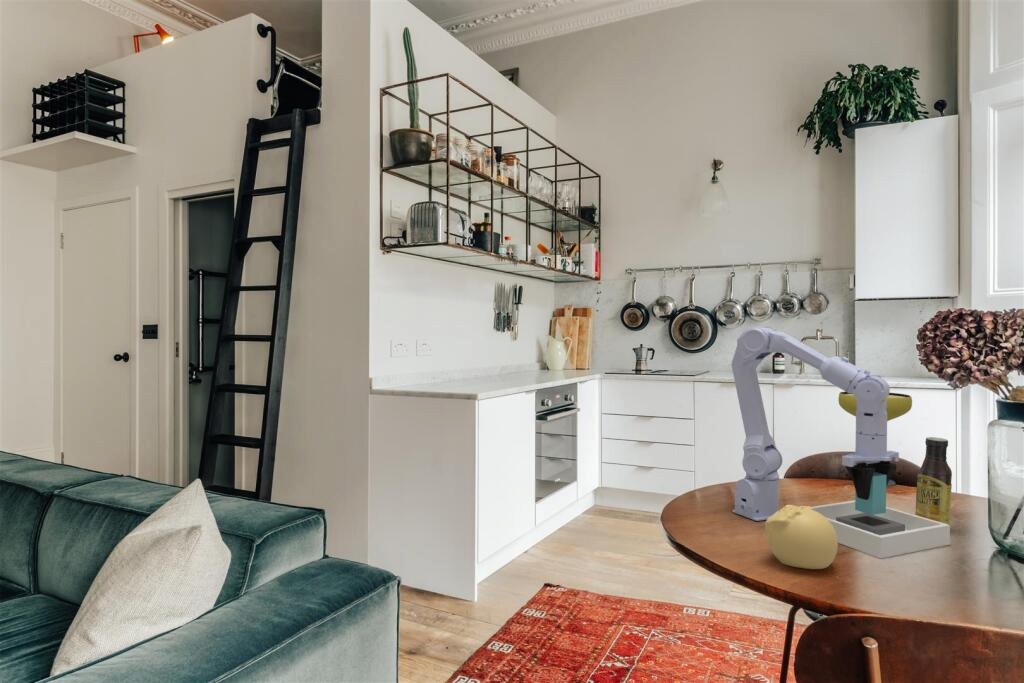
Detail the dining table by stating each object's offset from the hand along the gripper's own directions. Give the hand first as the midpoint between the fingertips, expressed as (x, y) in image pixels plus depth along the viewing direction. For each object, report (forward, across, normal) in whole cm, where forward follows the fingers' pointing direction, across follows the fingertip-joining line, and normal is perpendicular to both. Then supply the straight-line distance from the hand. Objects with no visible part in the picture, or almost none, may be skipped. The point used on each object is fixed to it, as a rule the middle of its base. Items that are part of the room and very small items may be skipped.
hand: (870, 497), depth 130 cm
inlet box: (+8, 0, 0) cm, 8 cm away
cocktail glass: (+8, +43, +32) cm, 54 cm away
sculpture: (+8, -26, -6) cm, 28 cm away
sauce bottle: (+8, +17, -2) cm, 19 cm away
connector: (+3, 0, 0) cm, 3 cm away
